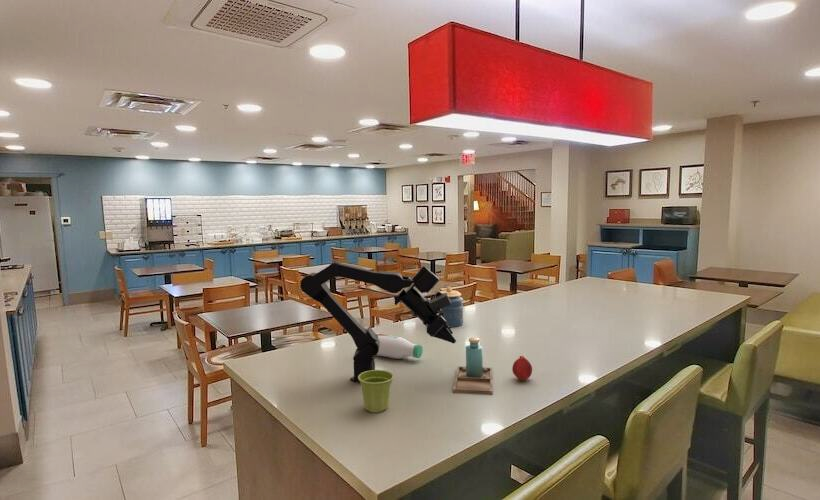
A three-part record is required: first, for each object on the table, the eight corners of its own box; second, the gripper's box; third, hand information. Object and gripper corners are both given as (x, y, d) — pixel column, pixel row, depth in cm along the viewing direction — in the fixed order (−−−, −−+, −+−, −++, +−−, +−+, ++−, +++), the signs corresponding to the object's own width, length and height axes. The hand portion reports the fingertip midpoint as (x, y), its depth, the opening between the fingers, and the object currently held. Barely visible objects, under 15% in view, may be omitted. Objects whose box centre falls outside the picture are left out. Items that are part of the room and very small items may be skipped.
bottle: (478, 379, 134) (478, 342, 133) (463, 376, 137) (462, 339, 136) (485, 373, 138) (485, 338, 137) (470, 370, 141) (470, 335, 140)
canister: (431, 322, 208) (430, 285, 207) (456, 319, 212) (456, 283, 211) (441, 328, 196) (441, 289, 195) (468, 326, 200) (467, 287, 198)
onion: (517, 376, 137) (517, 351, 137) (535, 380, 134) (535, 354, 133) (509, 381, 133) (509, 355, 132) (527, 386, 129) (527, 359, 128)
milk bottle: (370, 358, 161) (418, 367, 152) (363, 343, 157) (412, 352, 148) (380, 342, 167) (427, 350, 157) (373, 328, 163) (421, 335, 153)
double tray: (492, 396, 123) (492, 390, 122) (453, 393, 125) (453, 388, 124) (492, 372, 141) (492, 366, 141) (457, 370, 143) (457, 365, 143)
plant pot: (394, 399, 121) (393, 369, 121) (394, 415, 112) (393, 382, 111) (360, 400, 121) (359, 370, 120) (357, 416, 112) (356, 383, 111)
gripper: (437, 290, 126) (476, 327, 127) (433, 280, 144) (467, 312, 145) (410, 318, 126) (449, 354, 127) (409, 304, 145) (443, 336, 146)
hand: (453, 338), depth 136 cm, fingers open, 9 cm apart
